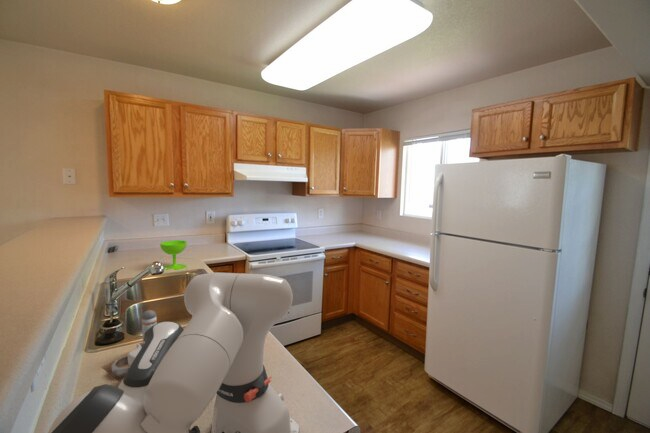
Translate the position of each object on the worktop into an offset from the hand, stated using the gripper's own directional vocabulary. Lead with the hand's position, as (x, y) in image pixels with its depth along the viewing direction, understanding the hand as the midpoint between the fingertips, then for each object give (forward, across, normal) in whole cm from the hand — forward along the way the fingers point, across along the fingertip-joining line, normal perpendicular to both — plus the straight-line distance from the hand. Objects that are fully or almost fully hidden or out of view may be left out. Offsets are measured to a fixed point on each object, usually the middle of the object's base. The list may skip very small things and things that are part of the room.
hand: (154, 339), depth 99 cm
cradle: (+1, -8, -7) cm, 10 cm away
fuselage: (+6, +1, -6) cm, 9 cm away
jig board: (-2, -4, -8) cm, 9 cm away
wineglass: (+96, +56, -6) cm, 111 cm away
